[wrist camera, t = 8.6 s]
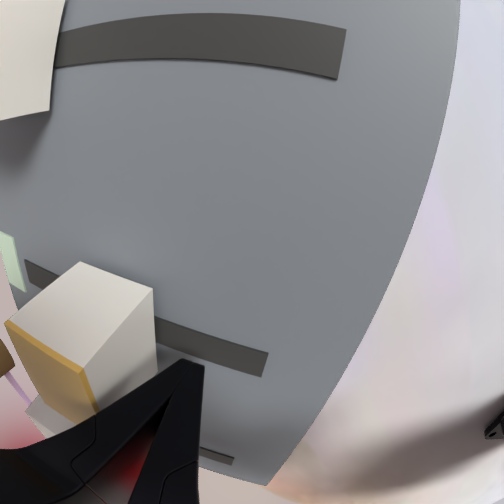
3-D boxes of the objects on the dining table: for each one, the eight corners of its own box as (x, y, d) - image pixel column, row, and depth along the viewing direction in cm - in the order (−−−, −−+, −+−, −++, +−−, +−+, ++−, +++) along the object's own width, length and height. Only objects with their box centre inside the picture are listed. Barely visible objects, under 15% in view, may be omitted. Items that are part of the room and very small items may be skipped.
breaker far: (96, 395, 14) (64, 440, 11) (110, 427, 16) (85, 466, 13) (58, 372, 14) (25, 411, 11) (74, 406, 16) (48, 441, 13)
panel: (442, 2, 5) (462, -15, 3) (271, 467, 16) (265, 487, 15) (23, 9, 7) (-3, 8, 6) (66, 382, 18) (55, 396, 17)
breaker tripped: (152, 288, 9) (78, 373, 6) (157, 370, 11) (111, 444, 8) (80, 261, 9) (3, 323, 6) (96, 342, 11) (44, 403, 8)
